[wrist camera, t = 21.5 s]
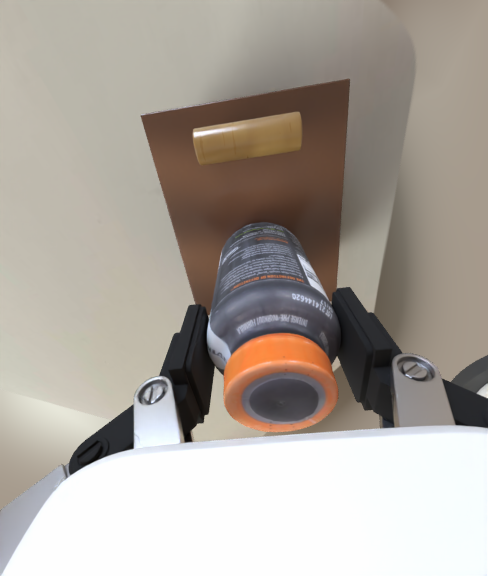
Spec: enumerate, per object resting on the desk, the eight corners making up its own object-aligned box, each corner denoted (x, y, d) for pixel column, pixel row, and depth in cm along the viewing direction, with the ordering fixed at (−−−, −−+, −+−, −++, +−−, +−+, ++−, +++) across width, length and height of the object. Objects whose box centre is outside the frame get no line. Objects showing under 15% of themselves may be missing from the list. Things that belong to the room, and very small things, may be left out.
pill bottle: (211, 283, 19) (177, 435, 9) (234, 208, 16) (217, 317, 6) (284, 303, 20) (319, 460, 10) (317, 235, 17) (411, 367, 7)
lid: (144, 115, 15) (108, 107, 11) (345, 80, 14) (385, 59, 10) (199, 311, 22) (190, 348, 18) (333, 296, 21) (353, 331, 17)
